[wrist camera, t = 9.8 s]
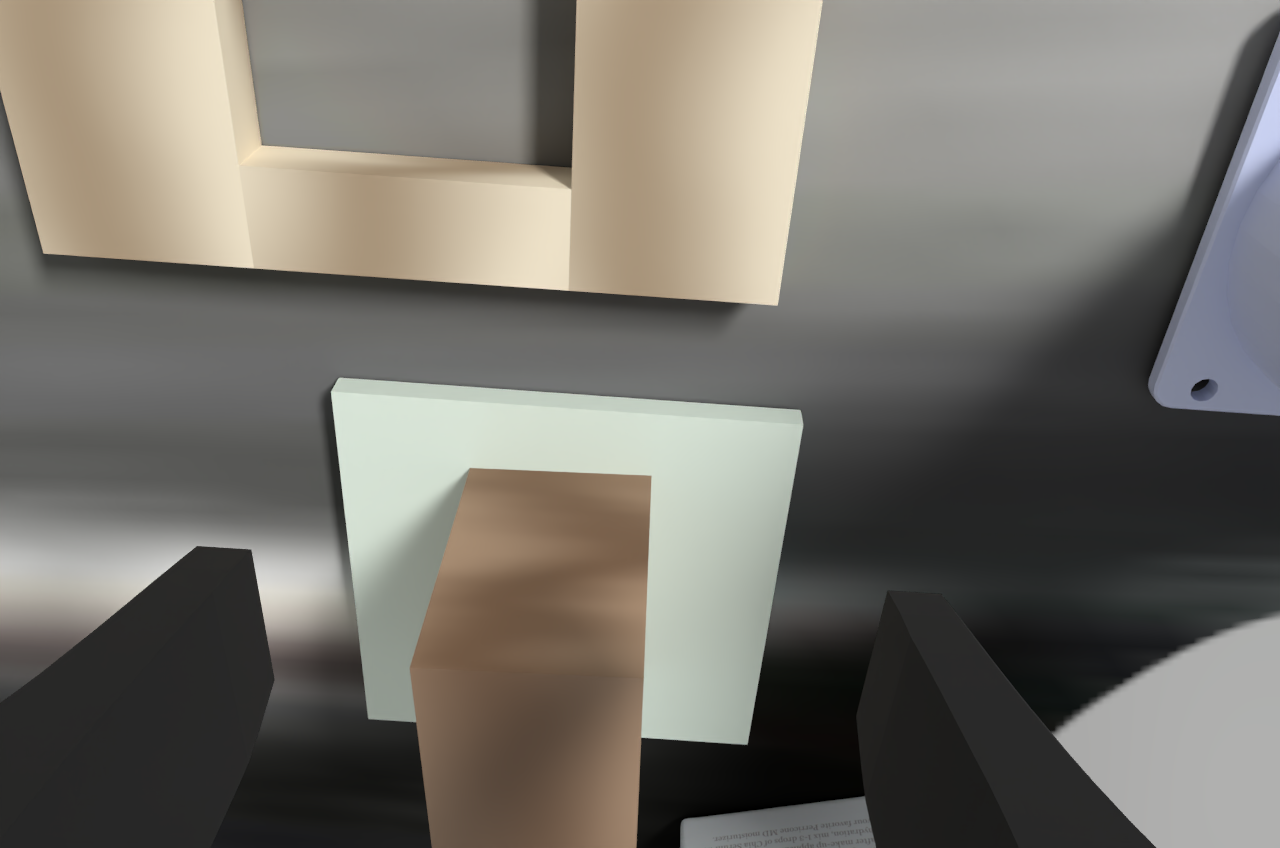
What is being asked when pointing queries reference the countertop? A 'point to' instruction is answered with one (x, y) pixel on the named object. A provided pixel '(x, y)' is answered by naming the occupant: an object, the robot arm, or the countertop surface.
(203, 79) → the pocket plate
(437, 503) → the sage tile
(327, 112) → the countertop surface
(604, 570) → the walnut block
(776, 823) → the skincare box
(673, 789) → the countertop surface
